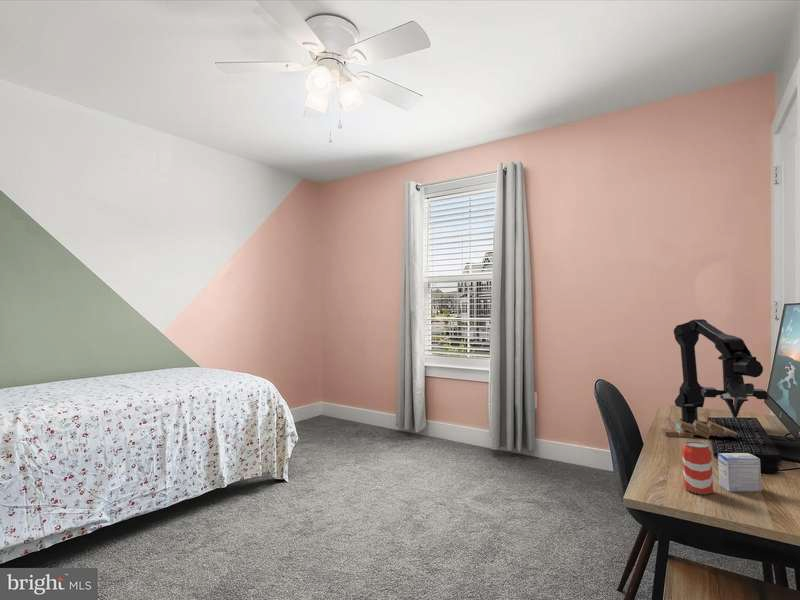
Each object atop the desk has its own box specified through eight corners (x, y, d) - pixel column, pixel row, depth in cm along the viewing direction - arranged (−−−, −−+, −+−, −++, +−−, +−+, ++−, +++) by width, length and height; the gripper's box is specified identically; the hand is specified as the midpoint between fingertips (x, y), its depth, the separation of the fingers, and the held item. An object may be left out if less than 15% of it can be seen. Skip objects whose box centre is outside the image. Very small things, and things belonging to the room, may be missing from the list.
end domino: (698, 429, 171) (689, 423, 179) (683, 428, 172) (675, 423, 181) (699, 434, 171) (690, 428, 179) (683, 433, 172) (675, 427, 181)
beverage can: (688, 494, 117) (686, 447, 117) (681, 485, 123) (679, 440, 123) (716, 496, 115) (714, 448, 115) (707, 487, 121) (705, 441, 121)
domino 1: (693, 437, 166) (665, 436, 168) (688, 434, 171) (661, 433, 173) (693, 432, 166) (665, 431, 168) (688, 429, 171) (661, 428, 173)
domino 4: (737, 440, 161) (709, 428, 164) (734, 437, 165) (706, 424, 169) (740, 436, 160) (711, 423, 164) (736, 432, 165) (709, 420, 168)
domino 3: (722, 439, 162) (694, 427, 166) (719, 436, 167) (692, 424, 170) (724, 435, 162) (697, 422, 165) (721, 431, 166) (694, 419, 170)
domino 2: (708, 438, 164) (680, 427, 168) (705, 435, 168) (678, 424, 172) (710, 434, 164) (682, 423, 167) (707, 430, 168) (680, 420, 172)
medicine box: (750, 485, 121) (748, 452, 121) (762, 492, 117) (760, 458, 117) (718, 485, 122) (717, 452, 122) (729, 492, 117) (727, 458, 118)
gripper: (706, 375, 160) (708, 421, 159) (772, 377, 152) (775, 424, 152) (700, 371, 170) (702, 414, 169) (762, 372, 162) (764, 417, 162)
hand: (734, 417), depth 163 cm, fingers closed
